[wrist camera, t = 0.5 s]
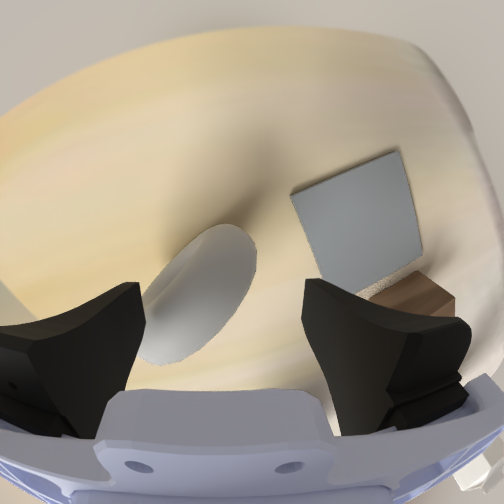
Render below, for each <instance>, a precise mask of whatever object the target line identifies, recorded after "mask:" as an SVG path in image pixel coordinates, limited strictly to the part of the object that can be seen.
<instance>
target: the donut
mask: <svg viewBox="0 0 504 504" xmlns="http://www.w3.org/2000/svg"><path fill="white" fill-rule="evenodd" d="M256 260H257V250H256V247H255V243H254V242H253V240H252V239H251V237H250V236H249V235H248V234H247V233H246V232H244V231H243V230H242V229H240V228H239V227H238V226H235V225H232V224H219V225H216V226H214V227H211V228H208V229H207V230H205V231H204V232H202V233H201V234H199V235H198V236H197V237H196V238H195V239H193V240H192V241H191V242H190V243H189V244H188V245H187V246H185V247H184V248H183V249H182V250H181V251H180V252H179V253H178V254H177V255H176V256H175V257H174V258H173V259H172V260H171V261H170V263H169V264H168V265H167V266H166V267H165V268H164V269H163V270H162V271H161V273H160V274H159V275H158V276H157V277H156V278H155V280H154V281H153V282H152V283H151V285H150V286H149V287H148V289H147V290H146V291H145V293H144V294H143V295H142V302H143V308H144V313H145V318H146V326H145V331H144V335H143V339H142V342H141V345H140V348H139V350H138V353H137V355H136V356H137V357H139V358H141V359H143V360H145V361H147V362H148V363H150V364H153V365H159V366H162V365H168V364H172V363H176V362H179V361H182V360H184V359H185V358H187V357H188V356H190V355H191V354H193V353H195V352H196V351H198V350H199V349H201V348H202V347H203V346H204V345H205V344H206V343H208V342H209V341H210V340H211V339H212V338H213V337H214V336H215V335H216V334H217V333H218V332H219V331H220V330H221V329H222V328H223V327H224V325H225V324H226V323H227V322H228V320H229V319H230V318H231V317H232V316H233V314H234V313H235V312H236V310H237V308H238V307H239V305H240V304H241V302H242V300H243V299H244V297H245V296H246V294H247V292H248V290H249V288H250V285H251V283H252V280H253V278H254V275H255V272H256Z"/></svg>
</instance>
